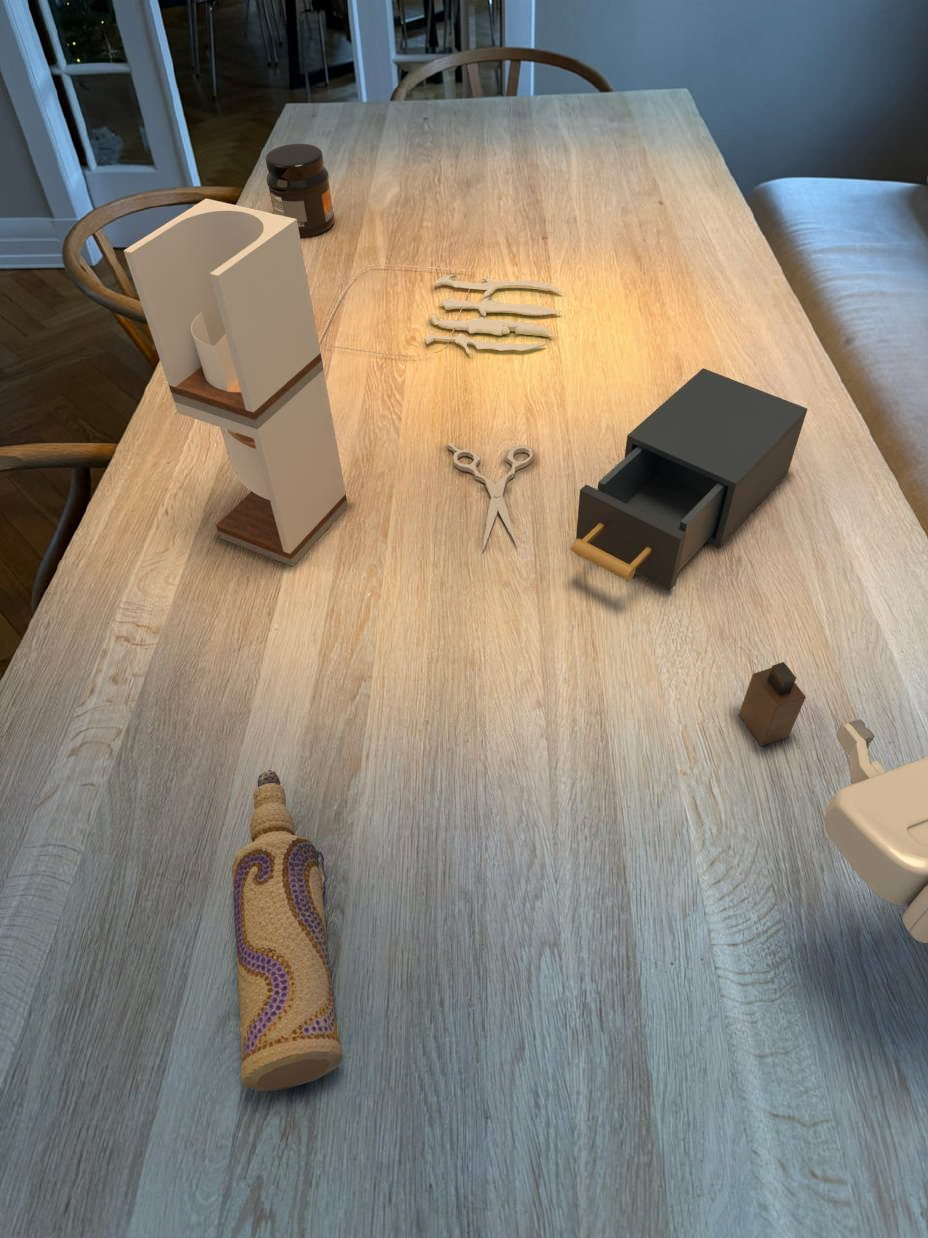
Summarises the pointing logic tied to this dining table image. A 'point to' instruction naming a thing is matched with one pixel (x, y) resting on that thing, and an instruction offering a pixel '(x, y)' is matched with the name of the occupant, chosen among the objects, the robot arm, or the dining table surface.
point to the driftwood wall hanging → (484, 314)
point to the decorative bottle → (282, 951)
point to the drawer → (647, 517)
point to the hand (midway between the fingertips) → (902, 706)
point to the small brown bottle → (772, 704)
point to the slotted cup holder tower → (247, 365)
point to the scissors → (493, 489)
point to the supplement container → (300, 187)
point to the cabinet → (725, 440)
